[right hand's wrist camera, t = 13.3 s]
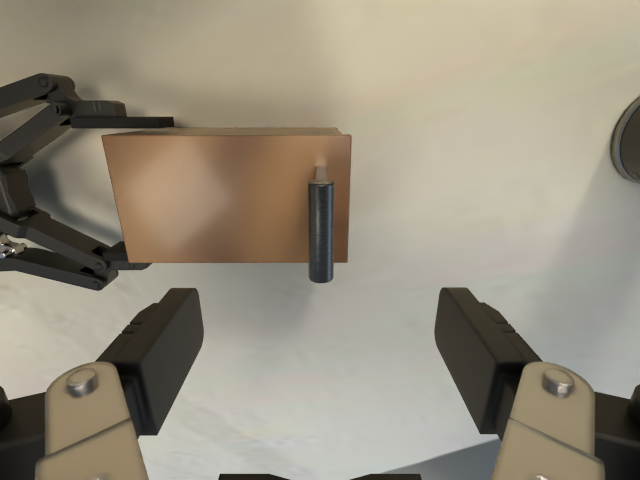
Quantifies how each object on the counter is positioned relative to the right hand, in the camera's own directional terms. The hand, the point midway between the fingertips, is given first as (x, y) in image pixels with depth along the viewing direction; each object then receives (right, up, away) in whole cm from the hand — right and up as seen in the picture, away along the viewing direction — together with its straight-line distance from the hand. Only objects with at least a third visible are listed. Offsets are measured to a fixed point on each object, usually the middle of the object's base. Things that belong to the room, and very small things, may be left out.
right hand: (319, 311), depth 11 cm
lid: (-6, +5, +14) cm, 17 cm away
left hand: (-12, +6, +17) cm, 22 cm away
